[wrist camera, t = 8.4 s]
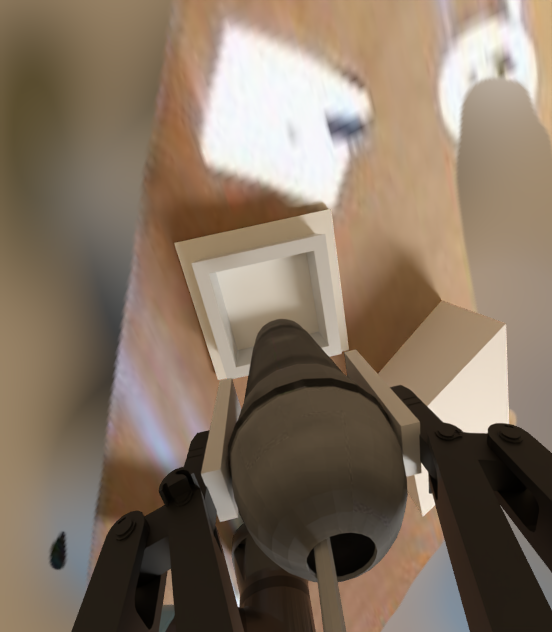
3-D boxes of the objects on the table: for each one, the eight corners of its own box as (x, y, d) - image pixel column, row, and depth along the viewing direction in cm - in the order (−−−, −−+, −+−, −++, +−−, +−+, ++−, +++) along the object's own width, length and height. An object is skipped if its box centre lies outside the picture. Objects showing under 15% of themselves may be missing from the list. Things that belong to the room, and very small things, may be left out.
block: (348, 455, 47) (374, 516, 37) (394, 293, 38) (445, 316, 28) (424, 458, 49) (468, 517, 39) (484, 305, 40) (562, 330, 30)
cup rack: (346, 347, 40) (362, 366, 35) (218, 376, 40) (213, 400, 34) (328, 209, 34) (344, 205, 28) (176, 242, 33) (160, 245, 28)
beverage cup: (297, 392, 24) (476, 999, 5) (223, 362, 22) (81, 1093, 3) (339, 325, 22) (842, 856, 3) (263, 287, 21) (411, 901, 2)
